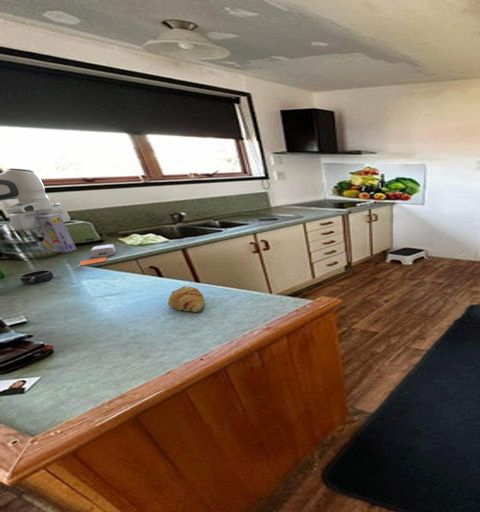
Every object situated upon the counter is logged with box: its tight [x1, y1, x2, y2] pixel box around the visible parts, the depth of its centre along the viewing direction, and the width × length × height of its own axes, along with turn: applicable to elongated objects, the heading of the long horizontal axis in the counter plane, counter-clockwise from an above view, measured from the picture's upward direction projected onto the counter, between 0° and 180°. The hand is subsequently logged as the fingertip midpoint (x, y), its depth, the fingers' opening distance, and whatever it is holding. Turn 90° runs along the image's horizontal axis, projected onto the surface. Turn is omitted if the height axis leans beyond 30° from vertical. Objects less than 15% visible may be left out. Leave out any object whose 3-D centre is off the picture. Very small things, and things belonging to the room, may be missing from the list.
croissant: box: [167, 286, 205, 313], centre depth 98 cm, size 21×10×8 cm
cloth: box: [78, 256, 108, 267], centre depth 147 cm, size 10×10×1 cm
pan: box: [19, 269, 55, 285], centre depth 123 cm, size 9×9×4 cm
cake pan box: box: [29, 214, 77, 253], centre depth 128 cm, size 19×5×18 cm, turn 75°
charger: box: [89, 243, 117, 259], centre depth 161 cm, size 5×9×15 cm
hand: (49, 235), depth 128 cm, fingers closed on cake pan box, 5 cm apart
